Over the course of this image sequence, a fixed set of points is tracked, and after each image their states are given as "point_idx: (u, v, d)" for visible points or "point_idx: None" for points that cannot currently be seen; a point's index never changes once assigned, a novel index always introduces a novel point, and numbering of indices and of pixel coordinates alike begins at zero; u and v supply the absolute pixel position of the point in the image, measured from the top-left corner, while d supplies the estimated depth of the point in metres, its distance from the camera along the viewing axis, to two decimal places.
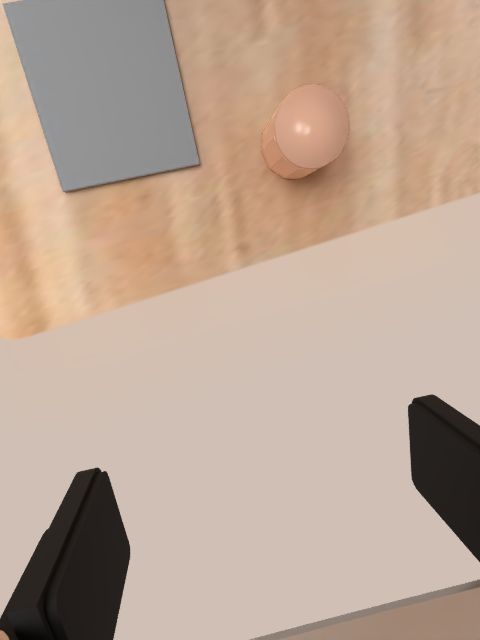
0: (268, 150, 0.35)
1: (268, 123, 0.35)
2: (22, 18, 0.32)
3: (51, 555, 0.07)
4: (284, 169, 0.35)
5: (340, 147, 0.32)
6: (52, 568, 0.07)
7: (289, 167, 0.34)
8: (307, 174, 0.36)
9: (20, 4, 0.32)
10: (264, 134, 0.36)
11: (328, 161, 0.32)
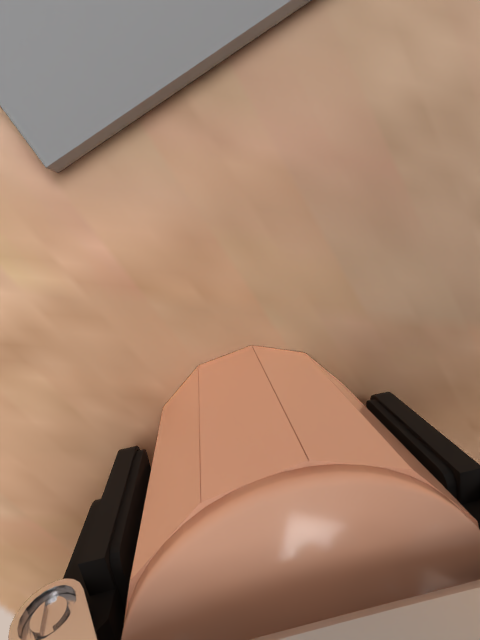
0: (188, 414, 0.09)
1: (281, 366, 0.10)
2: None
3: (109, 518, 0.08)
4: None
5: None
6: (112, 528, 0.07)
7: None
8: None
9: None
10: (245, 363, 0.10)
11: None
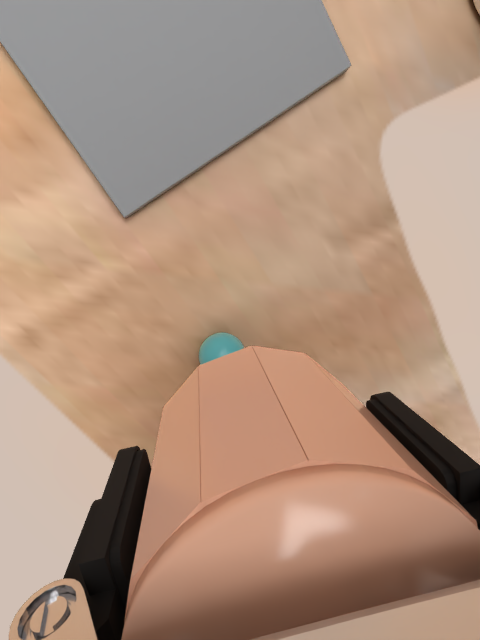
0: (188, 414, 0.09)
1: (281, 366, 0.10)
2: None
3: (109, 518, 0.08)
4: None
5: None
6: (113, 528, 0.08)
7: None
8: None
9: None
10: (245, 363, 0.10)
11: None
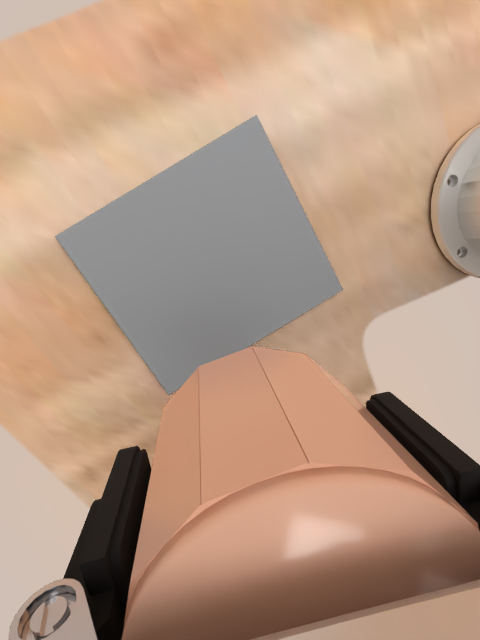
0: (188, 416, 0.09)
1: (281, 368, 0.10)
2: (249, 142, 0.24)
3: (109, 518, 0.08)
4: None
5: None
6: (113, 528, 0.08)
7: None
8: None
9: (263, 137, 0.25)
10: (245, 364, 0.10)
11: None
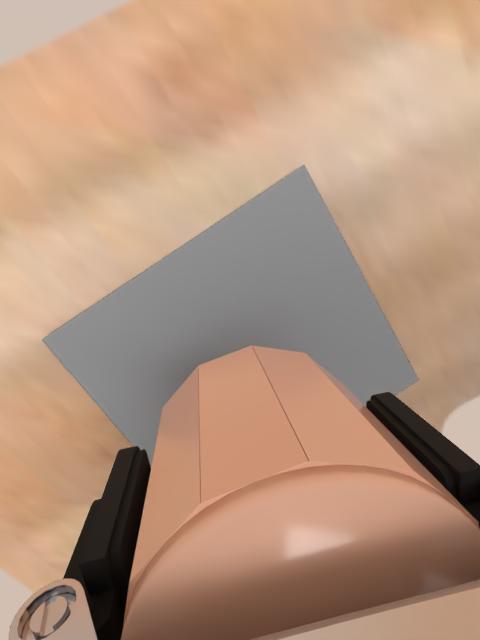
0: (188, 415, 0.09)
1: (281, 366, 0.10)
2: (294, 202, 0.18)
3: (109, 518, 0.08)
4: None
5: None
6: (113, 527, 0.07)
7: None
8: None
9: (314, 194, 0.18)
10: (245, 363, 0.10)
11: None
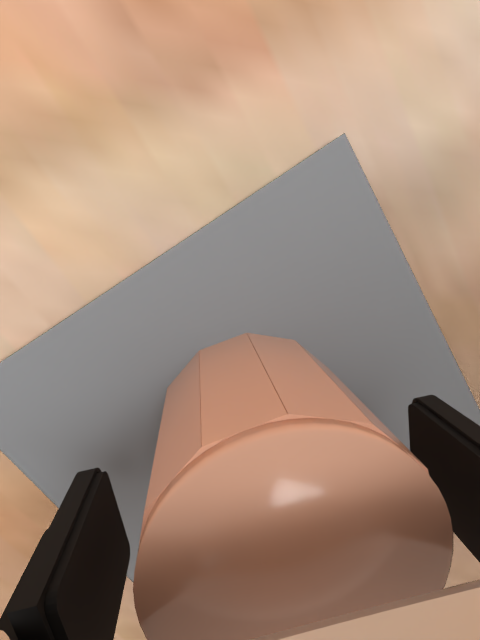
0: (190, 389, 0.10)
1: (272, 349, 0.11)
2: (329, 190, 0.12)
3: (51, 555, 0.07)
4: None
5: None
6: (52, 567, 0.07)
7: None
8: None
9: (357, 178, 0.12)
10: (240, 347, 0.12)
11: None
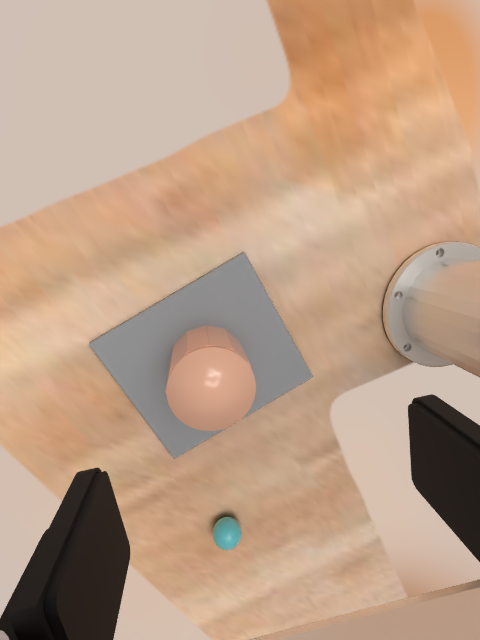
0: (183, 342, 0.30)
1: (213, 331, 0.31)
2: (238, 272, 0.32)
3: (51, 555, 0.07)
4: (169, 368, 0.30)
5: (203, 427, 0.28)
6: (53, 567, 0.07)
7: None
8: None
9: (250, 268, 0.32)
10: (202, 329, 0.31)
11: (183, 421, 0.27)
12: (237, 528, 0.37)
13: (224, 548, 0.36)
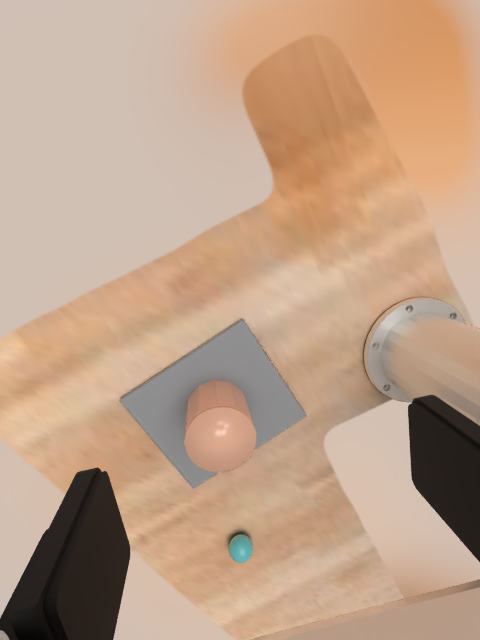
0: (196, 398, 0.37)
1: (220, 386, 0.38)
2: (239, 336, 0.38)
3: (51, 555, 0.07)
4: None
5: (215, 469, 0.34)
6: (52, 567, 0.07)
7: (185, 429, 0.35)
8: None
9: (248, 332, 0.38)
10: (211, 385, 0.38)
11: (199, 465, 0.34)
12: (249, 544, 0.44)
13: (239, 561, 0.43)
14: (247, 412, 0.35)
